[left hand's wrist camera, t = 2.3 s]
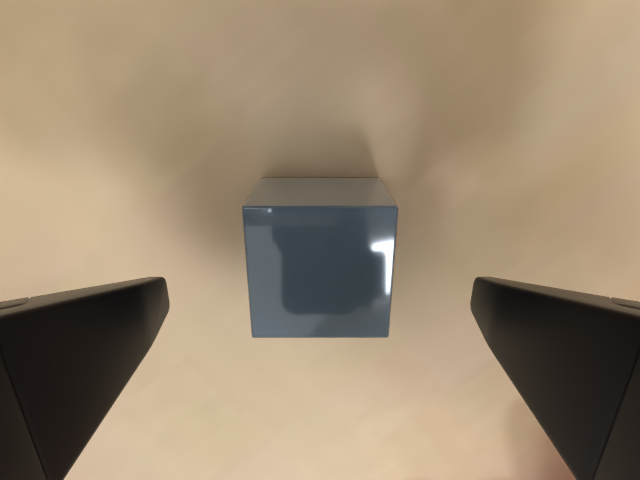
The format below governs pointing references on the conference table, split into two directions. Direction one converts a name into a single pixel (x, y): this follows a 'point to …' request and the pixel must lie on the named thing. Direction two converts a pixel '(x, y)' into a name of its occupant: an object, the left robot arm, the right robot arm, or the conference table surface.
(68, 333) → the left robot arm
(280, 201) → the block
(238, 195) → the conference table surface
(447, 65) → the conference table surface
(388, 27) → the conference table surface
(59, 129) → the conference table surface
